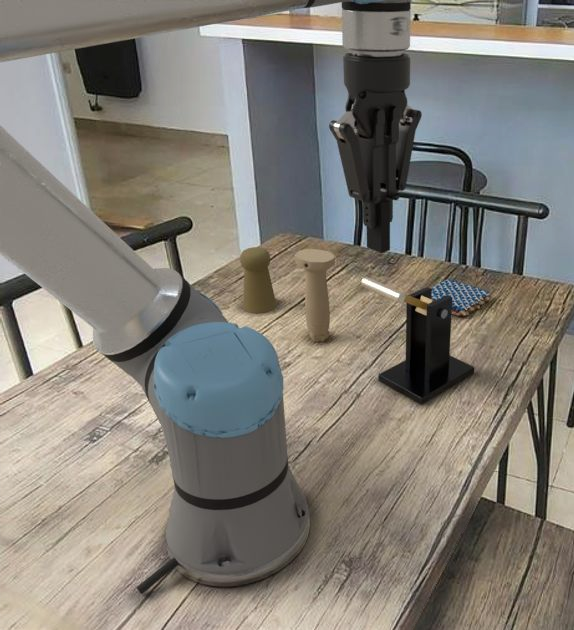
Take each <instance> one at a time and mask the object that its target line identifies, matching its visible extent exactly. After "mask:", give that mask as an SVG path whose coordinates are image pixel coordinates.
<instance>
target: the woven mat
mask: <svg viewBox="0 0 574 630" xmlns="http://www.w3.org/2000/svg"><path fill="white" fill-rule="evenodd" d="M431 289H432V300H434V301H436V300H438V299H440V298H442V297H444V296H447V295H448V296H451V297H452V315H454V316H458V317H459V316H460V317H464V316H465V317H466V316H469V315H470V313H471V312H473V311H475V310H480V309H481V305H482V306H484V305H485V302H488V301H491V292H490V291H487V289H486V288H484V289H482V288H479V286H477V287H475V286H473V285H472V284H469V285H468V284H466V283H465V282H459V281H458V280H453V279H451V278H448V279H444V281H441V282H440V283H437V284H436V285H435V287H432V288H431Z"/></svg>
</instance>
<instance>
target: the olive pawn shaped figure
mask: <svg viewBox="0 0 574 630" xmlns="http://www.w3.org/2000/svg"><path fill="white" fill-rule="evenodd" d="M239 260H240V261H239V262H240V264H241V266H242V267H243V269H244V270H243V293H242V294H243V296H242V297H243V298H242V309H243V311H245V312H247V313H250V314H263V313H268V312H271V311H272V310H274V309H275V308H276V307H277V301H276V296H275V292H274V287H273V284H272V279H271V274H270V270H269V266H270V263H271V255H270V252H269V251H268V250H267V249H266V248H264V247H260V246H259V247H258V246H252V247H248V248H245V249H244V250H243V251H242V252H241V253H240V257H239Z"/></svg>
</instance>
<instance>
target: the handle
mask: <svg viewBox="0 0 574 630" xmlns="http://www.w3.org/2000/svg"><path fill="white" fill-rule="evenodd" d="M294 263H295V264H296V265H297V266H299V267H300V268H302V269H303V270H304V276H305V278H304V281H305V282H304V286H305V287H304V289H305V290H304V291H305V292H304V296H305V297H304V298H305V299H304V300H305V301H304V308H305V320H306V326H307V333H308V337H309V339H311V340H312V342H314V343H316V342H325V341H326V340H327V339H329V337H330V330H329V329H330V323H331V322H330V320H331V311H330V310H331V308H330V297H329V290H328V279H327V270H328V269H330V268H332V267H333V266H335V263H336V256H335V254H333V253H332V252H330V251H327V250H323V249H315V248H304V249H301V250H299V251H296V252H295V254H294Z"/></svg>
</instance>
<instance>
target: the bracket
mask: <svg viewBox="0 0 574 630" xmlns="http://www.w3.org/2000/svg"><path fill="white" fill-rule="evenodd" d="M407 295H408V296H411V297H413V298H416V299H418V300H420V298H421V296H424V297H427V298H429V299H432V288H431V287H429V286H425V287H423V288H421V289H419V290H416V291H414V292H411V293H409V294H407ZM405 307H406V310H405V311H406V312H405V314H406V315H405V360H403V361H401V362H399V363H397V364H395V365H393V366H392V367H390V368H388V369H386V370H383V371H382V372H381V373H378V377H377V378H378V382H380V383H382V384H383V385H385V386H387V387H389V388H390V389H392V390H394V391H396V392H398V394H399V393H400V394H401V395H403V396H404V397H407V398H408V399H410V400H412V401H413V402H415V403H416V404H419V405H421V406H422V405H424V404H426V403H427V402H429V401H430V400H432V399H434V398H436V397H438V396H439V395H441V394H443V393H444V392H446V391H447V390H449V389H451V388H452V387H454V386H456V385H457V384H459V383H461V382H463V381H464V380H466V379H468V378H470V377H471V376H473V375H475V367H474V366H473V365H471V364H469V363H466V362H465V361H462V360H461V359H458V358H456V357H454V356H452V355H451V335H452V333H451V332H452V315H453V314H452V297H451V296H448V295H447V296H444V297H442V298H440V299H438V300H436V301H434V302H431V303H429V304H427V316H426V315H424V314H421V313H419V312H417V311H415V310H416V306H414V305H411V304H408V303H406V306H405Z"/></svg>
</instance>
